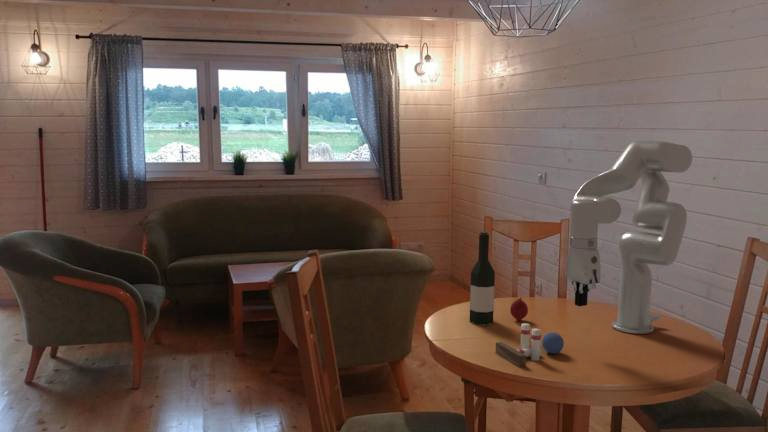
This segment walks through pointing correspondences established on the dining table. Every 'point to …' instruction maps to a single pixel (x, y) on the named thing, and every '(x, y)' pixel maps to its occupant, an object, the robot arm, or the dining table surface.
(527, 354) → the pin front
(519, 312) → the onion
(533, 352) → the pin
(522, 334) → the pin
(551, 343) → the ball
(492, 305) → the wine bottle
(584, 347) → the dining table surface
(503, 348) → the wall
